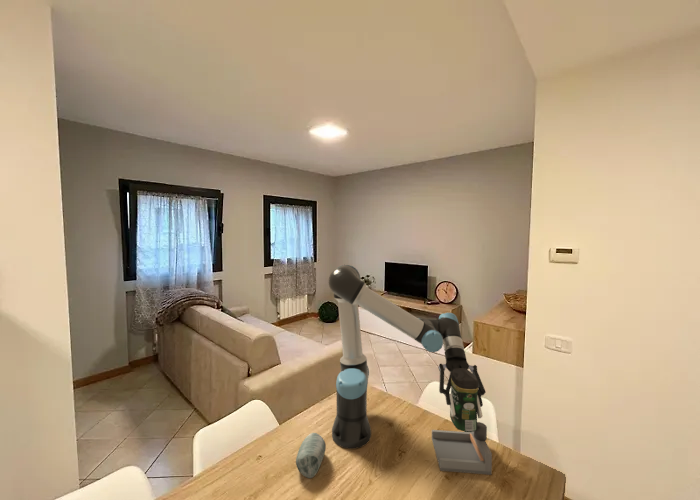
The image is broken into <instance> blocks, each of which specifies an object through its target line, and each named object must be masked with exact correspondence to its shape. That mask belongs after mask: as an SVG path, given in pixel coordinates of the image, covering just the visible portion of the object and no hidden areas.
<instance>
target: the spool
mask: <svg viewBox="0 0 700 500" xmlns="http://www.w3.org/2000/svg"><path fill="white" fill-rule="evenodd" d="M326 449H327V446H326V442H325V440H324V438H323V436H322V435H320V434H319V433H317V432H311V433H309V434H308V435H307V436H306V437H305V438H304V439H303V441H302V442H301V444H300V447H299V448H298V451H297V455H296V459H295V465H296V468H297V470H298V472H299V473H300V474H301V475H302V476H303V477H305V478H307V479H313V478H314V477H315V476H316V475H317V473H318V471H319V469H320V467H321V465H322V462H323V460H324V456H325V453H326Z"/></svg>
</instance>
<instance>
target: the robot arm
mask: <svg viewBox="0 0 700 500" xmlns="http://www.w3.org/2000/svg"><path fill="white" fill-rule="evenodd" d="M328 287H329V289H330V290H331V292H332V294H333V299H334V300H335V301H336V302H337V305H338V306H337V307H338V308H337V309H338V316H339V318H338V319H339V326H340V335H341V336H340V339H341V349H342V356H341V357H340V358H339V366H340V372H339V373H338V374H337V377H336V382H335V383H336V384H335V387H336V388H335V389H336V415H335V419H334V421H333V425H332V427H331V437H332V440H333V443H335V444H336V445H338V446H339V447H342V448H344V449H351V450H352V449H359V448H362V447H364V446H366V445H367V444H368V443H369V442H370V441H371V438H372V428H371V424H370V422H369V418H368V415H367V412H368V411H367V405H368V403H367V399H368V398H367V396H368V384H369V377H370V370H369V366H368V359H367V356H366V355H365V354H364V353H363V343H362V333H361V324H360V323H361V321H360V313H359V312H360V310H359V307H360V308H362V309H364V310H366V311H367V312H368V313H370V314H372V315H374V316H376V317H377V318H378V319H380V320H382V321H384V322H385V323H387V324H388V325H390V326H392V327H393V328H394V329H397V330H398V331H400V332H401V333H403V334H405V335H406V336H408V337H409V338H411V339H413V340H414V341H416V342H417V343H419V344H421V345H422V347H423V348H424V349H425V351H427V352H429V353H437V352H439V351H440V350H441V349H442V348H443V350H444V357H445V363H439V364H438V370H439V386H438V388H439V391H438V393H439V394H443V395H444V397H445V402H446V405H447V406H449V411H450V410H451V416H452V417H454V416H455V409H454V403H453V397H452V394H451V373H452V371H453V370H454V369H455V368H466V369H467V370H469V371H470V372H471V373H472V374H473V375H474V376H475V377H476V378H477V380H478V392H477V419H481V418H483V412H482V407H483V398H482V397H483V396H484V395H486V389H485V386H484V384H483V382H482V379H481V378H480V375H479V372H478V366H477V365H476V364H474V365H472V364H471V365H470V364H469V363H468V361H467V357H466V351H465V347H464V346H465V345H464V343H463V337H462V334H461V328H460V323H459V319H458V317H457V315H456V314H454V313H452V312H445V313H441V314H440V315H439V317H438V318H421V317H416V316H415V315H414V314H412V313H410V312H408V311H407V310H405V309H403V308H402V307H400V306H399V305H397V304H395V303H393V302H392V301H390V300H389V299H387V298H385V297H383V296H382V295H381V294H379V293H377V292H376V291H374V290H372V289H371V288H369V287H367V283H365V282H364V281H363V280H361V274H360V273H359V271H358V269H357V268H356V267H354V266H352V265H350V264H342V265H340V266H338V267H337V268H335V269H333V270H332V271H331V272H330V275H329V277H328ZM446 369H447V370H448V371H449V375H448V380H447V383H446V387H445V370H446Z"/></svg>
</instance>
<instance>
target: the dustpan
mask: <svg viewBox="0 0 700 500" xmlns="http://www.w3.org/2000/svg"><path fill="white" fill-rule="evenodd" d="M487 430H488V426H487V425H486V424H485V423H484V422H480V421H477V430H476V431H473V432H464V431H456V430H442V429H441V430H440V429H431V440H432V441H431V442H432V445H433V449H434V452H435V457H436V460H437V463H438V464H437V465H438V468H439V471H442V472H453V473H454V472H455V473H462V474H463V473H466V474H468V473H469V474H479V475H489V476H492V472H493V471H492V467H493V460H492V459H493V453H492V451H491V449H490V448H489V446H488V444H487V442H486V441H487V436H488V435H487V432H488V431H487Z"/></svg>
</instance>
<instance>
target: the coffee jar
mask: <svg viewBox="0 0 700 500" xmlns="http://www.w3.org/2000/svg"><path fill="white" fill-rule="evenodd" d="M478 390H479V389H478V380H477V378H476V377H475V376H474V375H473V374H472V372H471V371H470V369H468V370H467V369H466V368H455V369H454V370H453V371H452V373H451V388H450V394H452V397H453V403H454V409H455V416H454V417H452V416H451V410H450V409H449V417H450V420H451V422H452V425H453V426H454V428H456V429H457V430H459V431H460V432H473V431H476V430H477V422H478V415H477V392H478Z"/></svg>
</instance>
